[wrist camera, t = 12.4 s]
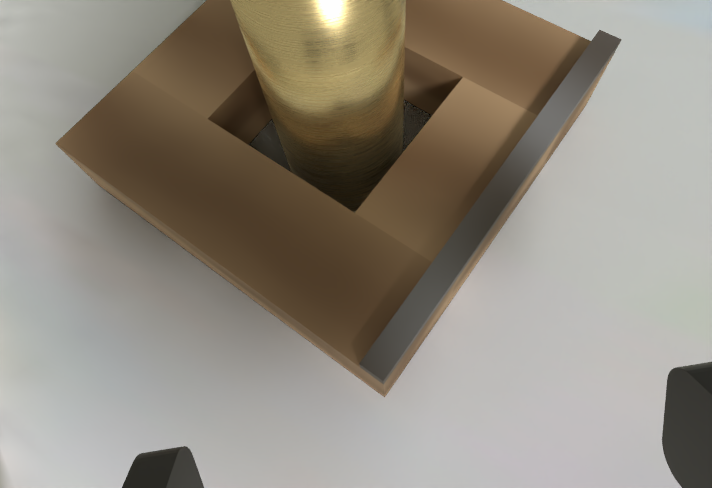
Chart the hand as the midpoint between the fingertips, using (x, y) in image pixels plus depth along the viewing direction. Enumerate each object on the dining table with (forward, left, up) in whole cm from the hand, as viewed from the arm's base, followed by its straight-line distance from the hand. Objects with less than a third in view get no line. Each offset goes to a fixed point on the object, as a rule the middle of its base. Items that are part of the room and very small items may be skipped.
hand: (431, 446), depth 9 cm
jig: (-8, -9, -9) cm, 15 cm away
